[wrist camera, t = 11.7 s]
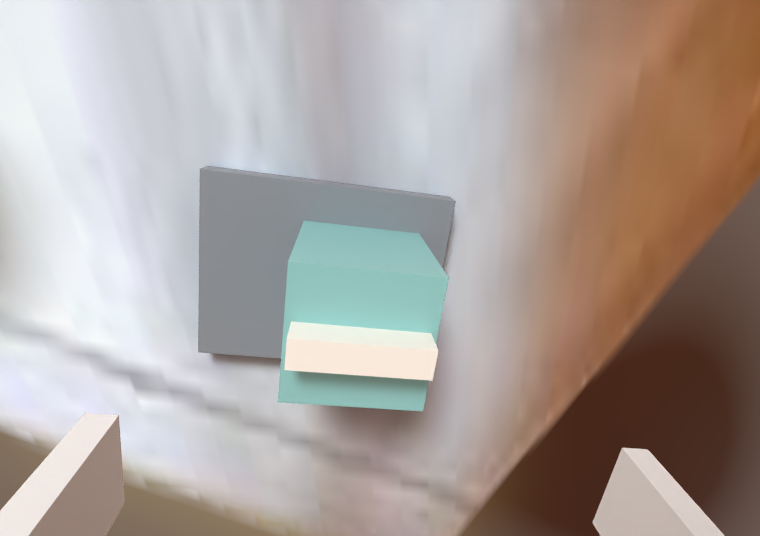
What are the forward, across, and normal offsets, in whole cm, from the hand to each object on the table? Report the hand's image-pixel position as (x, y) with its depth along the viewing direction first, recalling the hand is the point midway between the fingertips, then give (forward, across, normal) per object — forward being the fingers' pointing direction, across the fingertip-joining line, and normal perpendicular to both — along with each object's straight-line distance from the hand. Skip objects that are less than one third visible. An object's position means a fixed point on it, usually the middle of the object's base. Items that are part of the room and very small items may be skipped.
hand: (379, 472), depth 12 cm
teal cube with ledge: (+15, 0, 0) cm, 15 cm away
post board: (+17, -2, -1) cm, 17 cm away
